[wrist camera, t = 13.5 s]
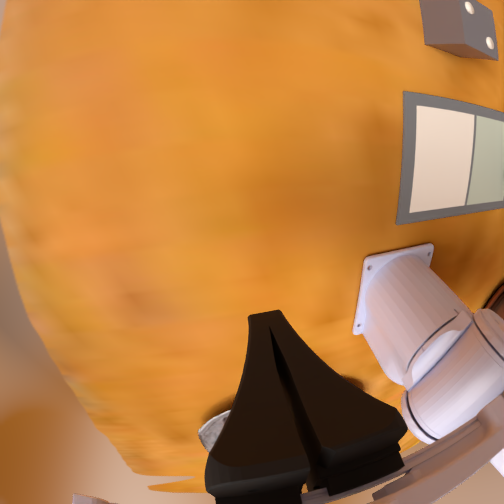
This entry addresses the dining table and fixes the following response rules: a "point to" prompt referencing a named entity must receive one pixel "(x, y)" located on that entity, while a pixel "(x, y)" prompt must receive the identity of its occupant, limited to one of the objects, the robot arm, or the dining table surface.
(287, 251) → the dining table surface
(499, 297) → the cup and saucer
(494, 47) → the die
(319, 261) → the dining table surface
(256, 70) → the dining table surface
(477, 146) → the game board
